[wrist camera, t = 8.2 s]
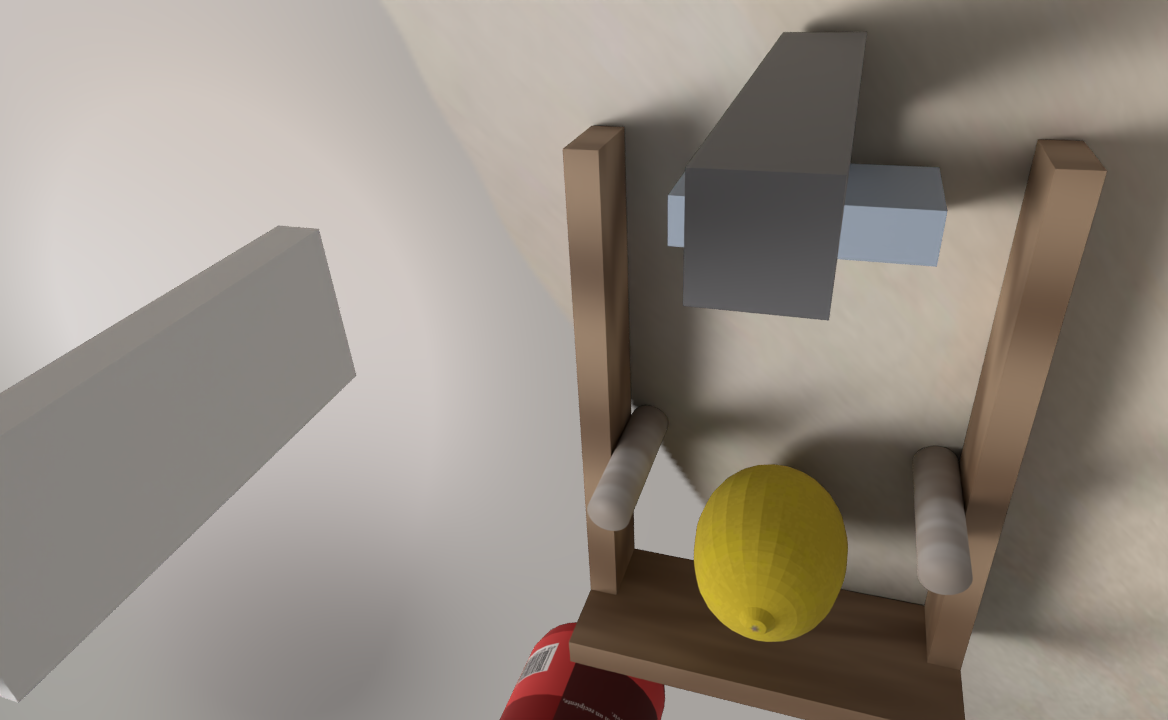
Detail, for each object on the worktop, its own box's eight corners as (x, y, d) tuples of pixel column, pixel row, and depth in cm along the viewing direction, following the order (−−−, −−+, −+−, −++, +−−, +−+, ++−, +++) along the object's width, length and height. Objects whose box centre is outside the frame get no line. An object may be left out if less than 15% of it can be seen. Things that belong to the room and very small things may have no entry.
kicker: (697, 32, 24) (530, 160, 13) (964, 31, 22) (1046, 184, 11) (694, 202, 27) (553, 431, 16) (930, 216, 25) (966, 496, 13)
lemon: (737, 407, 31) (699, 542, 25) (873, 456, 30) (871, 609, 24) (698, 504, 34) (655, 647, 28) (821, 551, 33) (807, 709, 27)
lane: (591, 126, 27) (527, 177, 22) (1084, 140, 23) (1137, 209, 18) (611, 561, 38) (570, 661, 33) (949, 631, 33) (960, 758, 28)
